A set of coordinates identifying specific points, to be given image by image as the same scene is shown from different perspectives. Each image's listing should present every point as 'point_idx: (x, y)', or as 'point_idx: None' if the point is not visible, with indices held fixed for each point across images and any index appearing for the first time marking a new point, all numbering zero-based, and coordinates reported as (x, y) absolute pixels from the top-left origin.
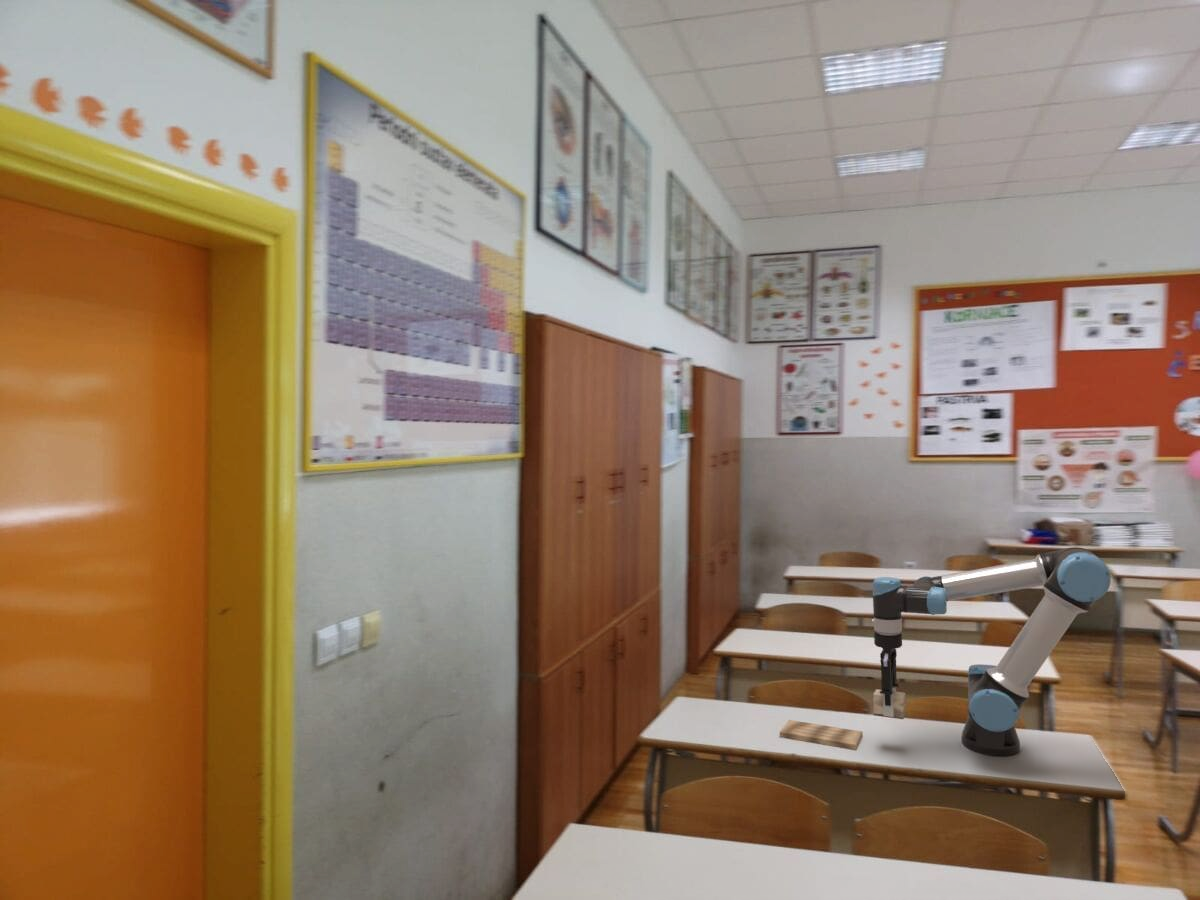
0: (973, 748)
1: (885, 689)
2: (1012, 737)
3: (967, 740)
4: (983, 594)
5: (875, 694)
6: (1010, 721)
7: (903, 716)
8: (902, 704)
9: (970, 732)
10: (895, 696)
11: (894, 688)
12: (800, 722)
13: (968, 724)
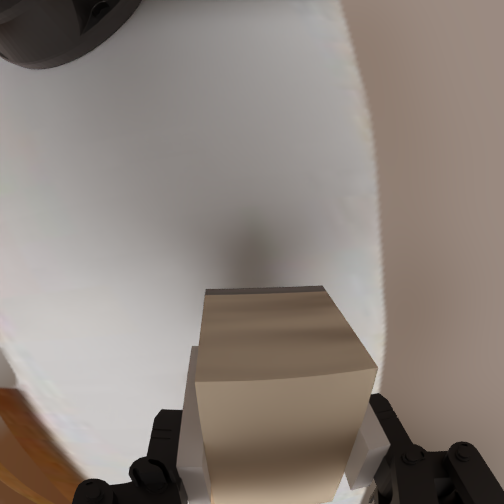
0: (130, 10)
1: (455, 488)
2: None
3: (102, 24)
4: None
5: (327, 497)
6: None
7: (315, 292)
8: (357, 339)
9: (80, 8)
10: (340, 422)
11: (202, 470)
12: (212, 493)
13: (53, 10)
